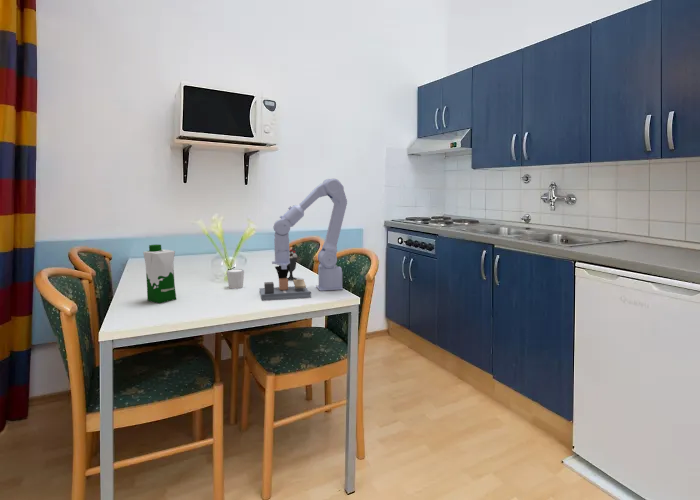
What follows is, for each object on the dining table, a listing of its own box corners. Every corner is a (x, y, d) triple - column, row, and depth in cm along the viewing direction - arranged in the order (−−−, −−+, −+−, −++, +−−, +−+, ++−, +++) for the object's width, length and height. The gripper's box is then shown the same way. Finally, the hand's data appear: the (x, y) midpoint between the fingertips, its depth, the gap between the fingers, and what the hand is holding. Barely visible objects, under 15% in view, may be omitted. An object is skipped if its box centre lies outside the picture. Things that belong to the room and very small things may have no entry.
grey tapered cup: (240, 289, 174) (239, 272, 173) (224, 288, 175) (223, 271, 174) (247, 285, 181) (246, 269, 180) (232, 285, 182) (231, 268, 181)
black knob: (273, 292, 163) (272, 281, 162) (273, 294, 160) (273, 283, 159) (264, 292, 162) (264, 282, 161) (265, 294, 159) (264, 284, 158)
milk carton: (165, 295, 163) (162, 243, 160) (180, 299, 158) (177, 245, 156) (143, 301, 156) (139, 246, 153) (159, 304, 151) (155, 247, 148)
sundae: (301, 278, 195) (301, 245, 193) (292, 281, 189) (291, 247, 187) (290, 277, 198) (289, 244, 196) (280, 279, 193) (279, 246, 190)
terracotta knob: (287, 287, 170) (287, 277, 170) (288, 289, 167) (288, 279, 166) (279, 288, 169) (278, 278, 169) (279, 290, 166) (279, 279, 166)
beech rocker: (303, 281, 171) (303, 279, 171) (305, 287, 165) (305, 285, 165) (293, 281, 170) (293, 279, 170) (295, 288, 164) (295, 286, 164)
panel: (304, 288, 175) (304, 281, 175) (310, 297, 161) (310, 290, 160) (259, 291, 171) (259, 284, 170) (261, 300, 156) (261, 293, 156)
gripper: (270, 248, 175) (271, 281, 177) (273, 253, 161) (274, 288, 163) (287, 247, 177) (288, 280, 179) (292, 252, 163) (292, 287, 165)
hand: (282, 284), depth 171 cm, fingers closed
